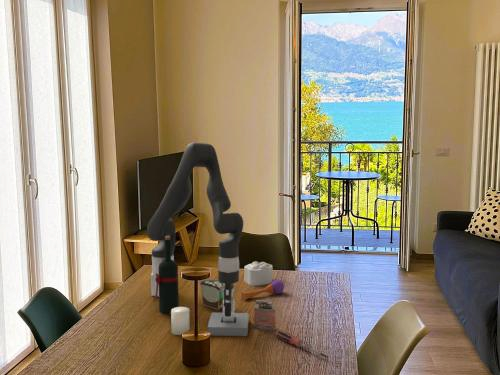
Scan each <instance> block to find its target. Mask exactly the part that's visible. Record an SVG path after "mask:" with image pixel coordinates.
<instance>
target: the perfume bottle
mask: <svg viewBox="0 0 500 375" xmlns="http://www.w3.org/2000/svg"><path fill="white" fill-rule="evenodd" d="M253 312H254V316H253V317H254V318H253V320H254V322H253V323H254V324H253V327H254V328H255V329H260V330H267V331H268V330H269V331H274V330H276V308H275V307H274V306H273V302H272V301H268V300H264V301H263V300H258V299H256V300H255V305H254V306H253Z"/></svg>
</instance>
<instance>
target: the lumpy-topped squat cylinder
mask: <svg viewBox="0 0 500 375" xmlns="http://www.w3.org/2000/svg"><path fill="white" fill-rule="evenodd" d="M273 267H274V266H273V264H270V263H267V262H265V261H261V262H258V261H253V262H252V263H249V264H247V265H244V272H243V273H244V279H243V280H244V282H245V283H246V284H248V285H249V286H265V285H269V284H271V283H272V282H273V281H274V280H273V279H274V278H273V277H274V275H273V272H274V270H273V269H274V268H273Z"/></svg>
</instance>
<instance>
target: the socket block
mask: <svg viewBox="0 0 500 375" xmlns="http://www.w3.org/2000/svg"><path fill="white" fill-rule="evenodd" d="M249 318H250V314H249V312H235V323H223V312H211V313H210V317H209V320H208V323H207V324H208V325H207V327H206V328H207V329H206V331H208V332H210V333H211V335H210V336H220V337H221V336H225V337H226V336H232V337H234V336H235V337H236V336H237V337H247V336H248V332H249V322H250V319H249Z"/></svg>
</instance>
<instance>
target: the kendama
mask: <svg viewBox="0 0 500 375" xmlns="http://www.w3.org/2000/svg"><path fill="white" fill-rule="evenodd" d="M284 289H285V285H284V283H283V281H282V280H278V279H275V280H273V281H272V282H271V283H269V284H267V285H266V287H264V288H263V289H258V290H252V291H245V292H242V293H241V295H240V296H241V299H242V300H243V301H247V300H249V299H252V298H254V297H256V296H258V295H261V294H263V293H267V294H271V295H273V294H274V295H279V294H282V293H283V291H284Z"/></svg>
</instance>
